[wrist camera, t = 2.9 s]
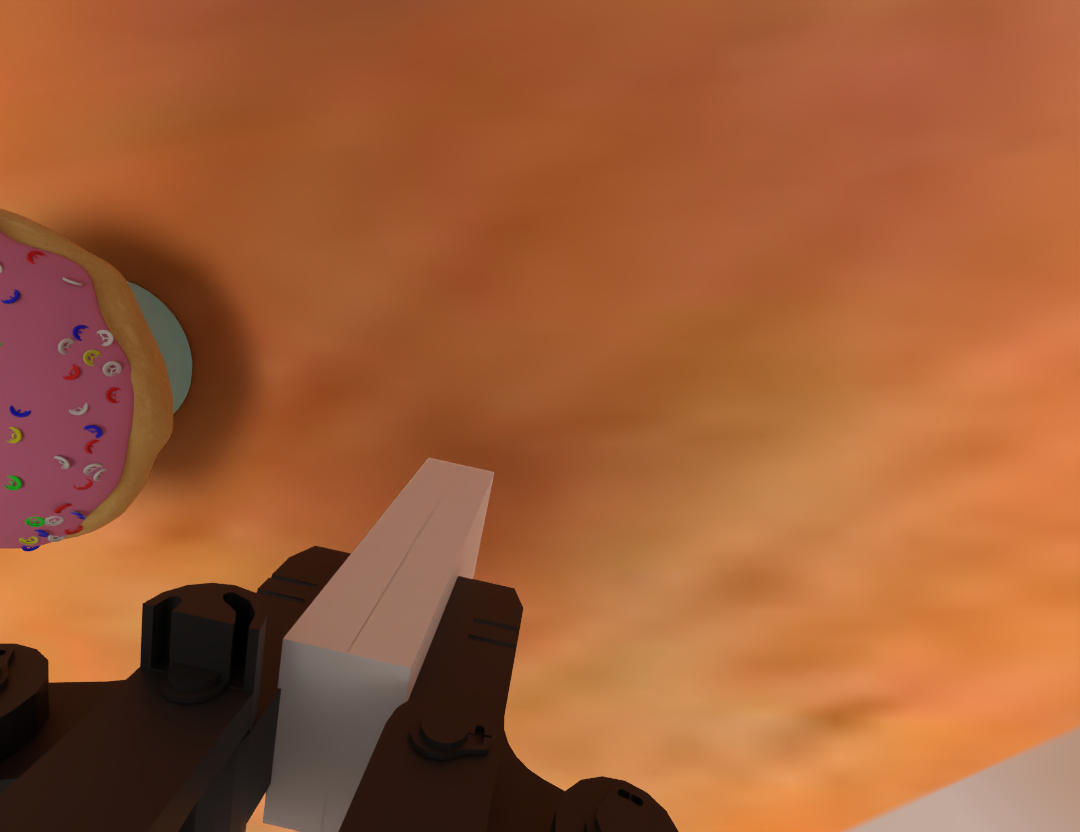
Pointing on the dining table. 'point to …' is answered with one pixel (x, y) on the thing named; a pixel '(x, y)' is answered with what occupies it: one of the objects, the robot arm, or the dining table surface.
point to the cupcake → (78, 386)
